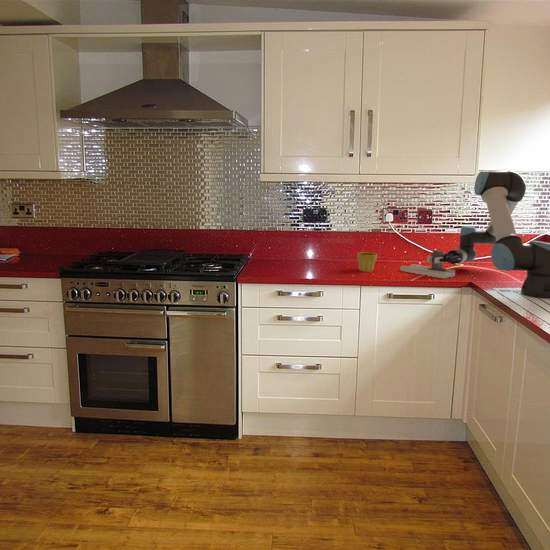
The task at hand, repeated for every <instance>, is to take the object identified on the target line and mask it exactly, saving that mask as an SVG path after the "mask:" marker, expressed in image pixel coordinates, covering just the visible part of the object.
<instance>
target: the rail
mask: <svg viewBox="0 0 550 550" xmlns="http://www.w3.org/2000/svg"><path fill="white" fill-rule="evenodd" d="M428 268H432V266H427V265H421V264H420V265H419V264H414V263H413V264H410V266H407V265H400V268H399V269H400V271H401V272H406V273H410V274H411V273H412V274H416V275H420V274H421V275H422V276H425V275H427V276H426V277H431V276H432V277H431V278H438V279H449V277H450V278H454V276H455V277H456V269H448V268H446V271H443V272H442V271H435V270H428Z"/></svg>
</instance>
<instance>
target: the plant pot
mask: <svg viewBox="0 0 550 550" xmlns="http://www.w3.org/2000/svg"><path fill="white" fill-rule="evenodd" d="M377 258H378V254H377V253H374V252H369V251H361V252H357V253H356V260H357V263H358V268H359V269H358V271H360V272H364V273H365V272H366V273H368V272H370V273H371V272H373V270H374V266H375V263H376V261H378V260H377Z"/></svg>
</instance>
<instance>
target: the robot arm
mask: <svg viewBox="0 0 550 550" xmlns="http://www.w3.org/2000/svg"><path fill="white" fill-rule="evenodd" d="M526 188H527V187H526V181H525V179H524V178H523V176H522V175H521V174H519V173H518V172H517V171H513V170H490V169H489V170H482V171H481V170H480V172H479V173H478V174H477V176H476V178H475V182H474V189H473V190H474V194H475V195H476V196H479V197H480V196H481V197H480V198H481V200H482V201H483V202H484V203H485V204H486V206H487V209H488V210H487V211H488V214H489V217H490V220H489V223H488V226H487V228H486V229H477V228H476V227H475V226H472V225H463V226H461V227H460V232H459V245H458V246H459V247H458V248H455V249H450V250H449V251H447V253H443V257H437V258H435V261H434V263H441V262H442V263H448V264H452V265H456V264H457V265H460V264H462V263H470V262H472V261H474V260H475V259H476V258H477V255H478V254H477V250H476V249H475V245H477V244H478V245H493V246H492V247H491V250H490V259H491V263H492V265H494V267H495V268H496V269H497V270H500V271H507V272H510V271H522V272H523V271H526V277H525V279H524V281H523V283H522V285H521V287H520V288H521V290H520V293H521V294H523V295H526V296H530V297H537V298H550V242H545V241H540V240H539V241H538V240H530V241H529V242H528V243H524V242H523V239H522V237H521V236H519V235H518V234H517V231H516V229H515V224H514V222H513V221H514V220H513V218H512V214H513V211H514V210H515V208H516V207H517V205H518V203H519V202H521V201H522V200H523V198H524V197H525V194H526V191H527V189H526ZM426 262H427V263H432V254H431V255H430V256H427V257H426Z"/></svg>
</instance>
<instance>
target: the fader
mask: <svg viewBox="0 0 550 550" xmlns="http://www.w3.org/2000/svg"><path fill="white" fill-rule="evenodd" d="M443 254H444V250H439V249H438V250H432V254H431V255H432V262H431V267H432V268H428V270H435V271H442V272H443V271H446V269H447V268H444V267H443V262H441V263H434V261H435V258H437V257H443Z"/></svg>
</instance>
